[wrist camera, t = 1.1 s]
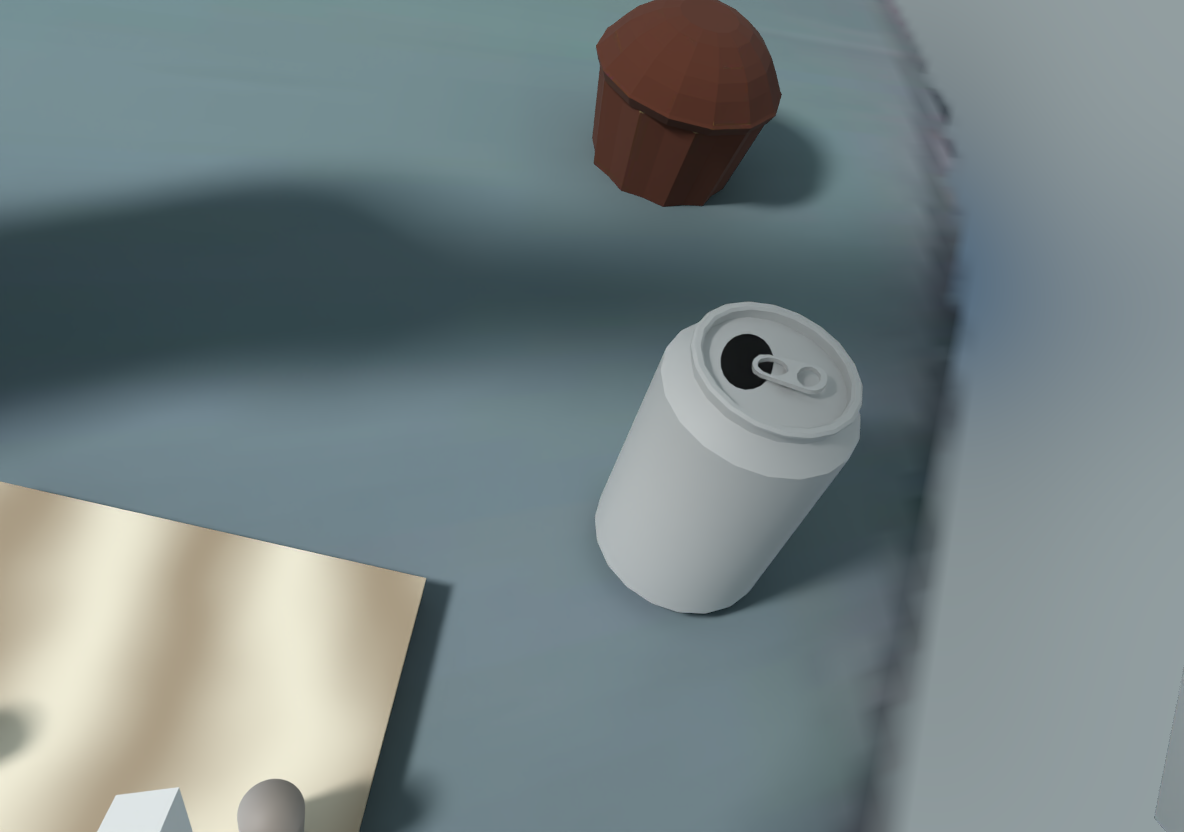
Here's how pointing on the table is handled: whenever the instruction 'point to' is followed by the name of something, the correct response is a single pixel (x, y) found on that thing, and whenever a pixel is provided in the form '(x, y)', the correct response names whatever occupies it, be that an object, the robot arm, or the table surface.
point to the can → (727, 455)
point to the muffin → (680, 99)
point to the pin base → (188, 671)
